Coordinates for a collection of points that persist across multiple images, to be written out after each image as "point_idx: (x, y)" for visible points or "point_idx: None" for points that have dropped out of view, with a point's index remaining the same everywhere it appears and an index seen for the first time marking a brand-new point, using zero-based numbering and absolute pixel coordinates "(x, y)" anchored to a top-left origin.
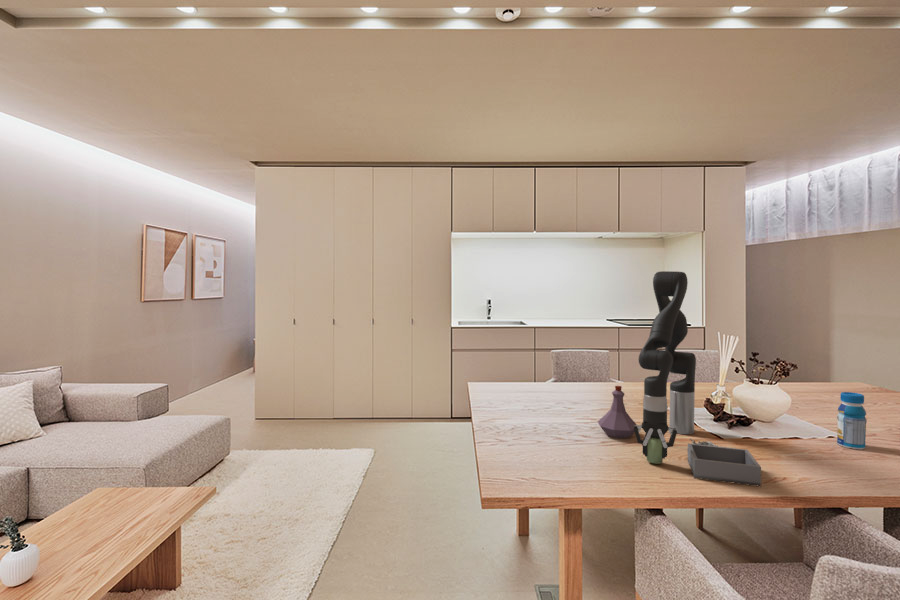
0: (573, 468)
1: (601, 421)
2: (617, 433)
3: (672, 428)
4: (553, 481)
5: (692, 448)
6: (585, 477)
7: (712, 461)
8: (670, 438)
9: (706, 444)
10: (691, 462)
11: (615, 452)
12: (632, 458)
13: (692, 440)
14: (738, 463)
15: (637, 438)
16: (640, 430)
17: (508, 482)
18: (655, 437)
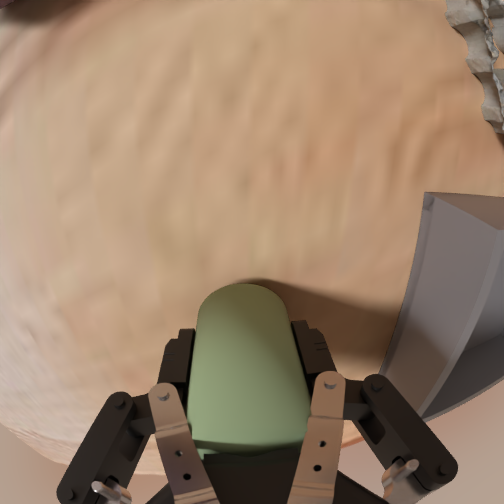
0: (38, 403)
1: None
2: (4, 1)
3: (424, 496)
4: (61, 443)
5: (475, 321)
6: None
7: (449, 410)
8: (385, 424)
9: (499, 11)
10: (413, 348)
11: (30, 228)
12: (119, 285)
13: (484, 7)
14: (501, 377)
15: (125, 448)
16: (131, 499)
17: (29, 439)
18: (258, 451)
